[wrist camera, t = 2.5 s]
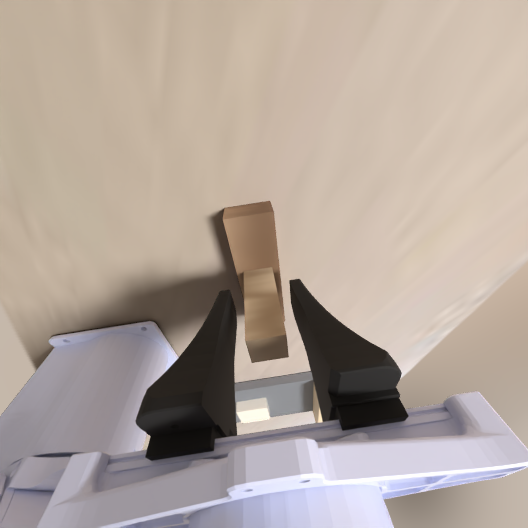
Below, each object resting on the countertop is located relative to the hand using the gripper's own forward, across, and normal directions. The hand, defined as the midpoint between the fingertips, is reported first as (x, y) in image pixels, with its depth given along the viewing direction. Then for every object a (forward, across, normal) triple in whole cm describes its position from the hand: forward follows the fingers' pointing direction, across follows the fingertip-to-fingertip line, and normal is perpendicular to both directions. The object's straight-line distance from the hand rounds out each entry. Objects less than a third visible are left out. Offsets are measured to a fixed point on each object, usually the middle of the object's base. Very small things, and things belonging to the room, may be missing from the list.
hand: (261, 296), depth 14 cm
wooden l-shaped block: (+4, 0, 0) cm, 4 cm away
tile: (+2, +4, +23) cm, 23 cm away
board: (+3, +2, +23) cm, 23 cm away
